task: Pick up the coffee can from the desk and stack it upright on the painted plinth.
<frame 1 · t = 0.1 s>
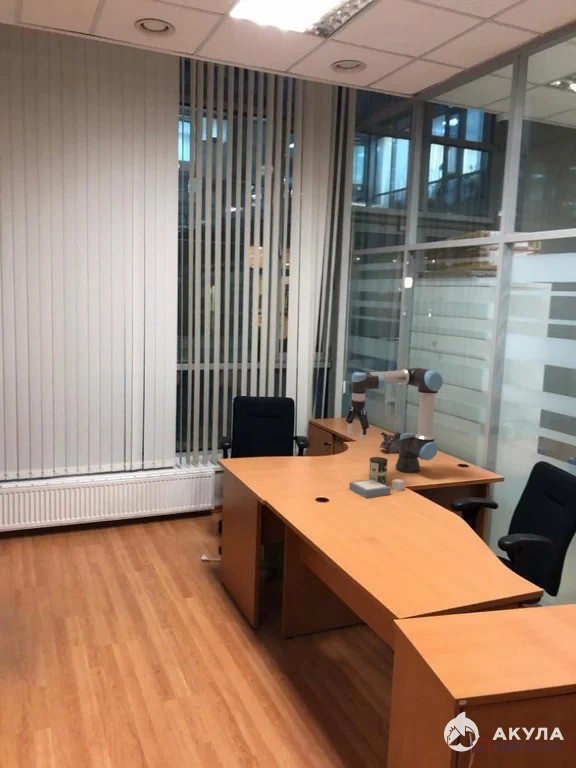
hand: (356, 437, 352), 28 cm above the table, fingers open, 13 cm apart
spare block: (397, 489, 352), on the table
plinth: (369, 491, 345), on the table
coffee can: (377, 483, 362), on the table
dark grey lumpy piece: (394, 452, 432), on the table
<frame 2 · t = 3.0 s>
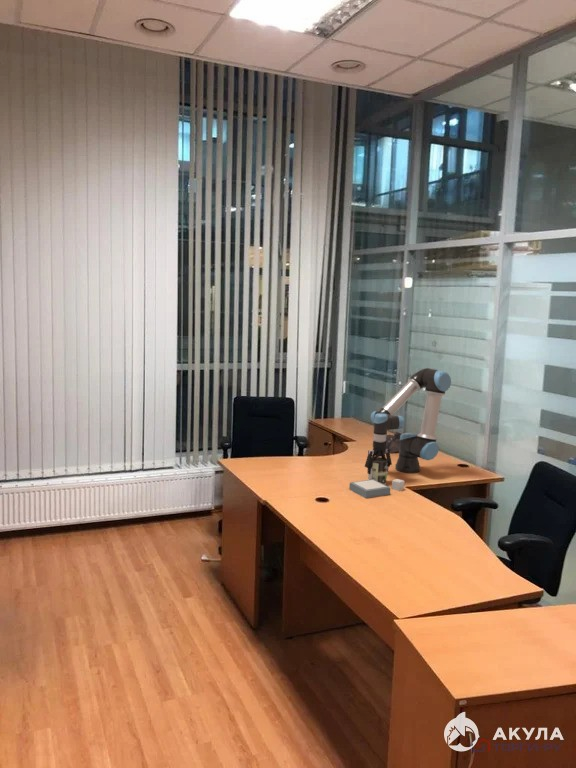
hand: (377, 478, 361), 3 cm above the table, fingers closed on coffee can, 10 cm apart
coffee can: (377, 483, 362), on the table, touching gripper
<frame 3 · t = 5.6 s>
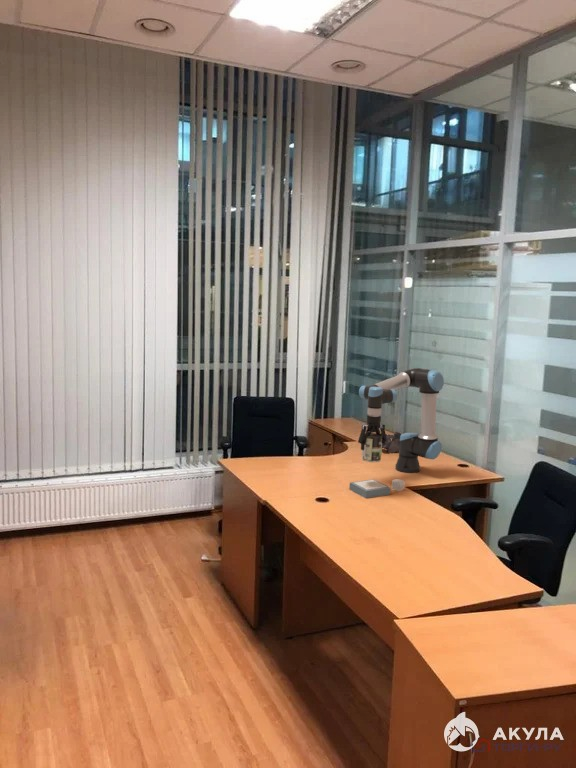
hand: (371, 455, 343), 21 cm above the table, fingers closed on coffee can, 10 cm apart
coffee can: (371, 460, 344), point 18 cm above the table, touching gripper
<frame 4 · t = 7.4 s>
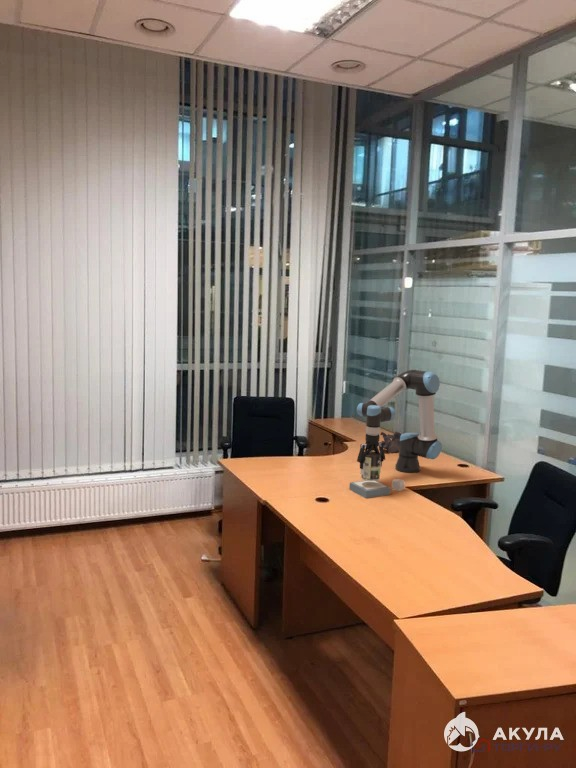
hand: (370, 473, 343), 11 cm above the table, fingers closed on coffee can, 10 cm apart
coffee can: (370, 478, 344), point 8 cm above the table, touching gripper
when the fingers open (8 cm above the table, at t = 8.4 s): coffee can drops 1 cm, resting on plinth.
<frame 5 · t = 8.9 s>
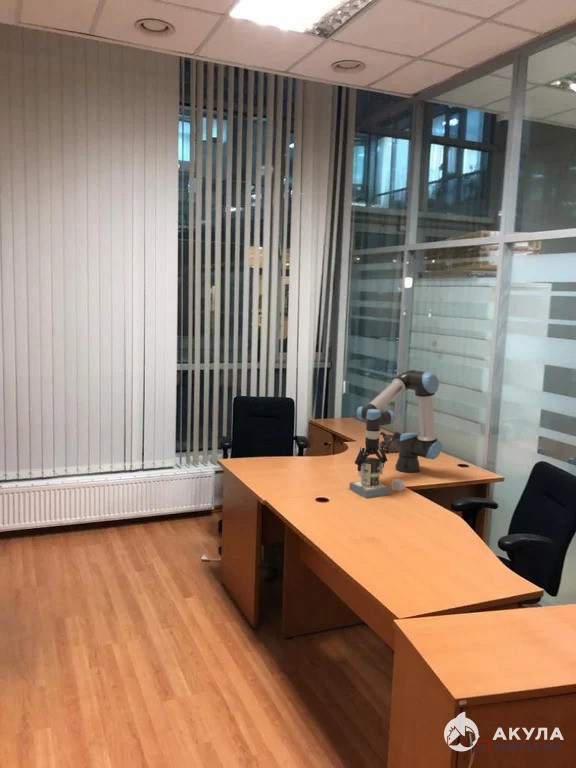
hand: (370, 475, 343), 10 cm above the table, fingers open, 13 cm apart
coffee can: (369, 484, 344), point 4 cm above the table, touching plinth
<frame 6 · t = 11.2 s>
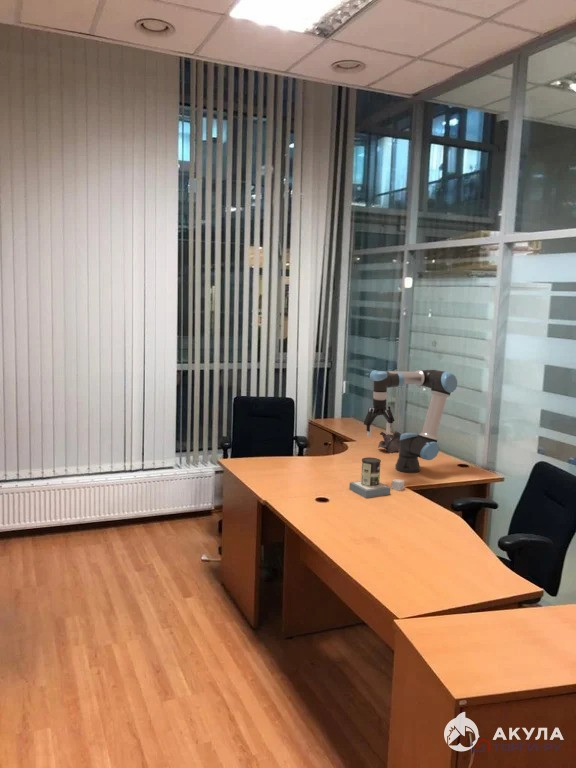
hand: (378, 435, 356), 28 cm above the table, fingers open, 13 cm apart
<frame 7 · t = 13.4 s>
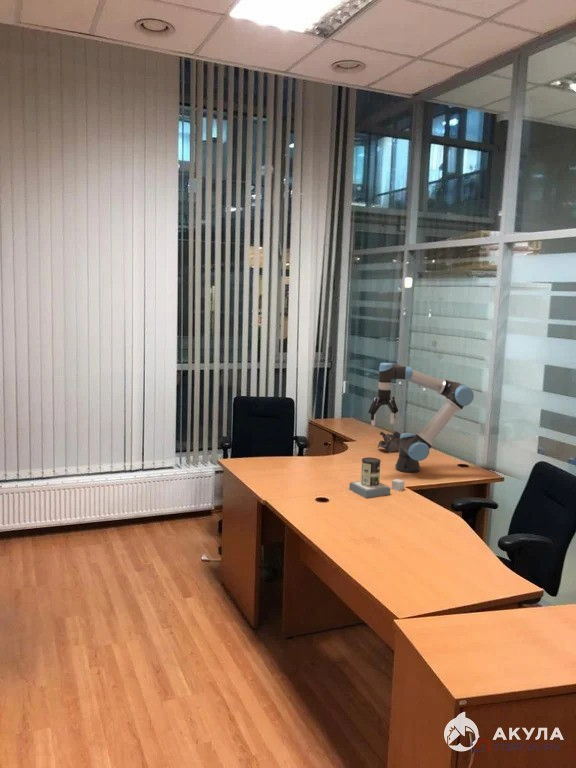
hand: (382, 424, 370), 32 cm above the table, fingers open, 13 cm apart
at the end: coffee can inside the target area on the plinth (0.1 cm from its centre), point 4.0 cm above the plinth's base; coffee can tilted 0°; the gripper is holding nothing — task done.
